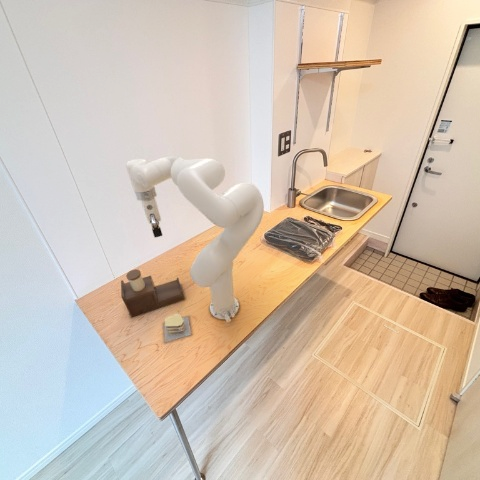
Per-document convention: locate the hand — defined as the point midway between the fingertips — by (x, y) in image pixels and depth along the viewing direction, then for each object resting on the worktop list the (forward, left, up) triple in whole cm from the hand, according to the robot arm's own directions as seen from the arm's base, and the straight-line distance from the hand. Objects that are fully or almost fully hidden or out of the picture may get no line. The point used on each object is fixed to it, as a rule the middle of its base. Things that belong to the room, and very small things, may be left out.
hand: (157, 230), depth 103 cm
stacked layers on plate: (-28, +3, -31) cm, 42 cm away
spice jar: (-9, +14, -19) cm, 25 cm away
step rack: (-9, +8, -30) cm, 33 cm away
